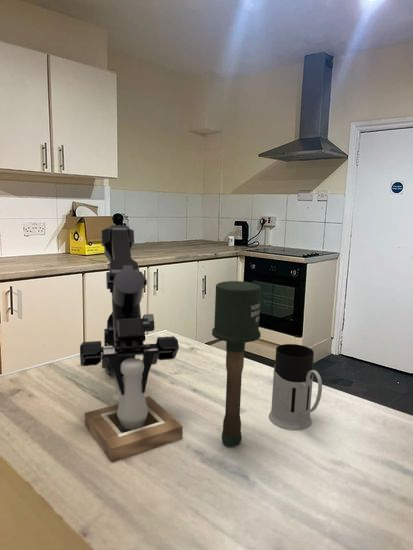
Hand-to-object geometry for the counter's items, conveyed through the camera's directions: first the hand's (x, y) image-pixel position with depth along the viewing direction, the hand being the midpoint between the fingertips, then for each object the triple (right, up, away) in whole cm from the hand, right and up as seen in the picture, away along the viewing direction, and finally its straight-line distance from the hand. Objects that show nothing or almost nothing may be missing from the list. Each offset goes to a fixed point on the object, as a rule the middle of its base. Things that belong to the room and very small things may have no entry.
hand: (133, 393), depth 79 cm
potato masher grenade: (+18, -9, 0) cm, 21 cm away
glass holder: (+32, -9, +6) cm, 34 cm away
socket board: (-1, -8, +3) cm, 8 cm away
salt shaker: (-1, -7, +3) cm, 7 cm away
